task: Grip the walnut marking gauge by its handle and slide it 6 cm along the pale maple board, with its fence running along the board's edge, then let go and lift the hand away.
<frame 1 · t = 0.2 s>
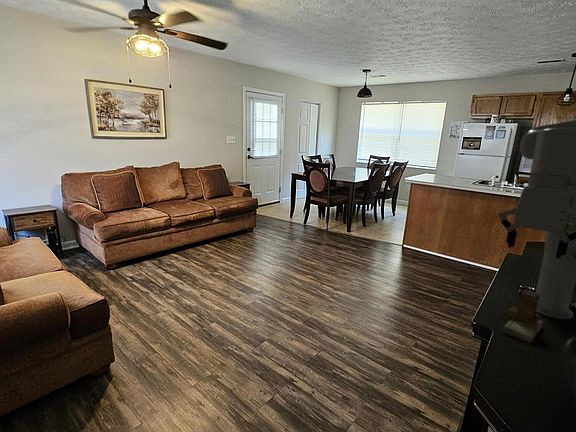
hand: (533, 251, 78), 31 cm above the tv stand, tool pointing down, fingers open, 9 cm apart
wrench: (541, 282, 138), on the tv stand
board: (522, 329, 100), on the tv stand
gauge: (524, 308, 101), point 6 cm above the tv stand, slide at 0.0 cm
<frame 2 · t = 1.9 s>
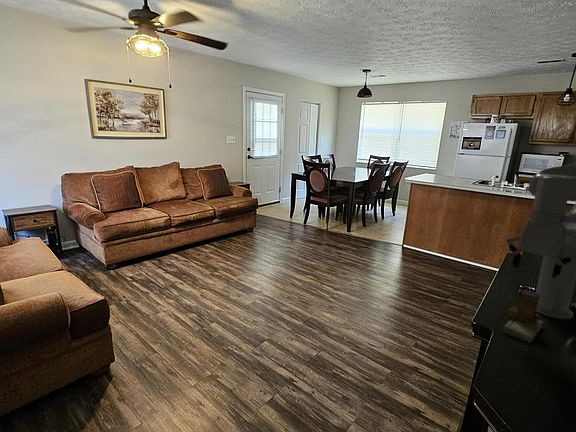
hand: (534, 271, 98), 19 cm above the tv stand, tool pointing down, fingers open, 9 cm apart
nothing on the tv stand moved.
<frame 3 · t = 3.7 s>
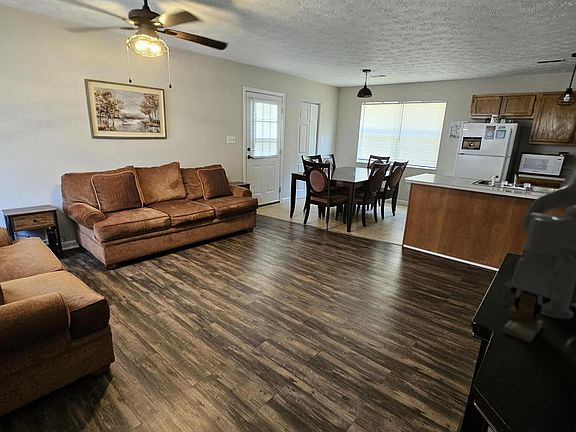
hand: (526, 311, 101), 5 cm above the tv stand, tool pointing down, fingers closed on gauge, 4 cm apart
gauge: (524, 308, 101), point 6 cm above the tv stand, slide at 0.0 cm, touching gripper
everything else where it was.
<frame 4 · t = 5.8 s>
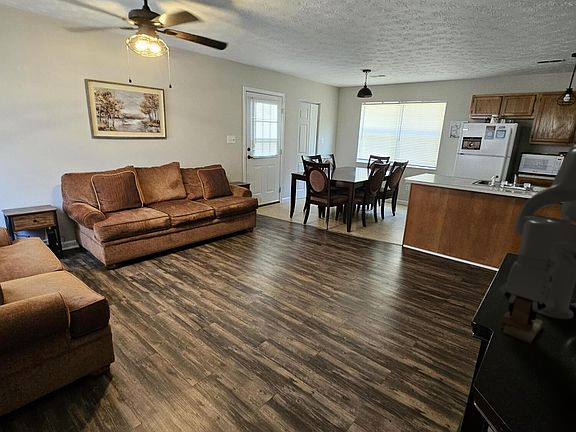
hand: (521, 317, 97), 5 cm above the tv stand, tool pointing down, fingers closed on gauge, 4 cm apart
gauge: (519, 313, 97), point 6 cm above the tv stand, slide at 6.0 cm, touching gripper
everything else where it was.
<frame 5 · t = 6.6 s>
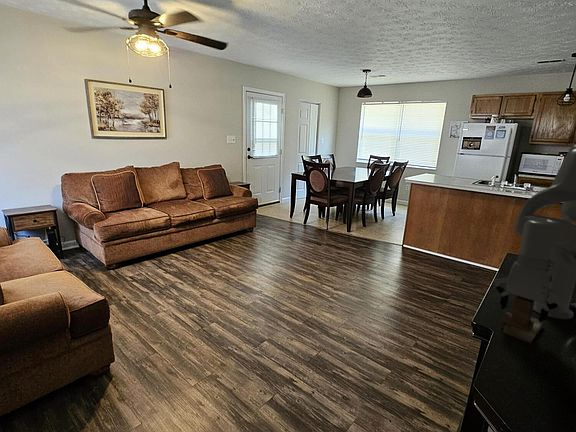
hand: (521, 314, 97), 6 cm above the tv stand, tool pointing down, fingers open, 9 cm apart
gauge: (519, 313, 97), point 6 cm above the tv stand, slide at 6.0 cm
everything else where it was.
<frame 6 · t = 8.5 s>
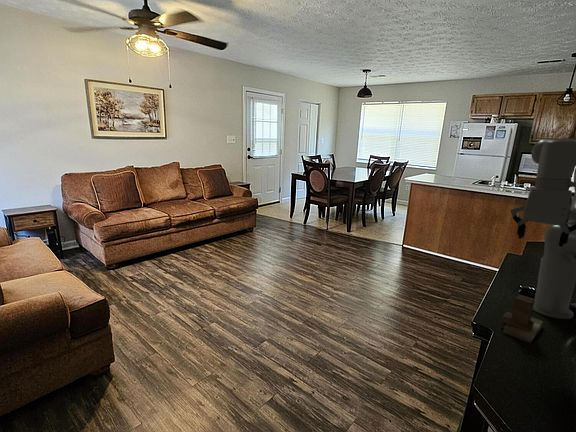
hand: (540, 241, 94), 29 cm above the tv stand, tool pointing down, fingers open, 9 cm apart
nothing on the tv stand moved.
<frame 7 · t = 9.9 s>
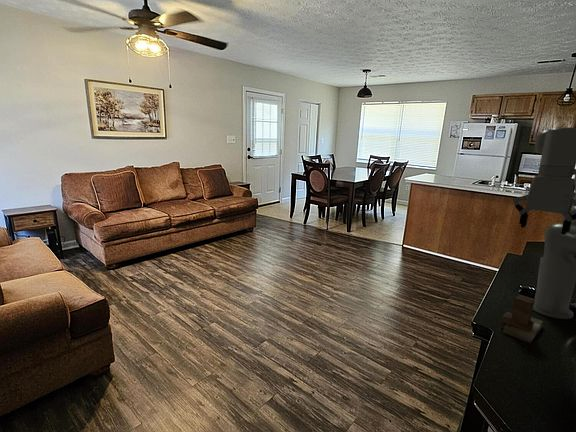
hand: (542, 230, 94), 32 cm above the tv stand, tool pointing down, fingers open, 9 cm apart
nothing on the tv stand moved.
at the end: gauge slide at 6.0 cm; the gripper is holding nothing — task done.
